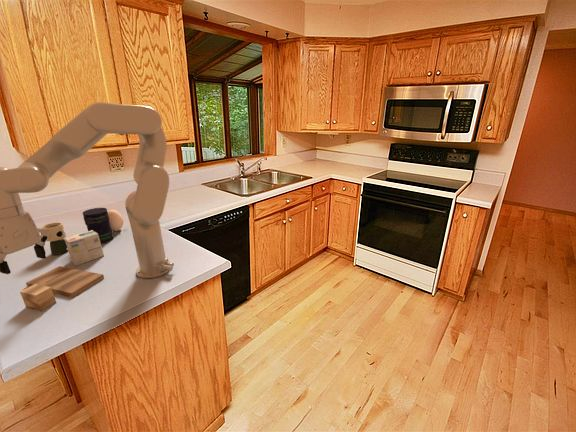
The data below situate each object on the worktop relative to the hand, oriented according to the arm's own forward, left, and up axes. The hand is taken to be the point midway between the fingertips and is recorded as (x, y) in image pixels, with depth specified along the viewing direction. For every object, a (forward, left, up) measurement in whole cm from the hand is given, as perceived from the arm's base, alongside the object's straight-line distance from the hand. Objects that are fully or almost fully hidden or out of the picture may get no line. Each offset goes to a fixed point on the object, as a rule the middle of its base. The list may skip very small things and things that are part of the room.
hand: (24, 265), depth 87 cm
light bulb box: (+14, -28, -15) cm, 35 cm away
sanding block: (0, 0, -15) cm, 15 cm away
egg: (+27, -55, -15) cm, 63 cm away
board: (+5, -12, -15) cm, 20 cm away
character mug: (+31, -29, -15) cm, 45 cm away
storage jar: (+24, -44, -15) cm, 52 cm away
